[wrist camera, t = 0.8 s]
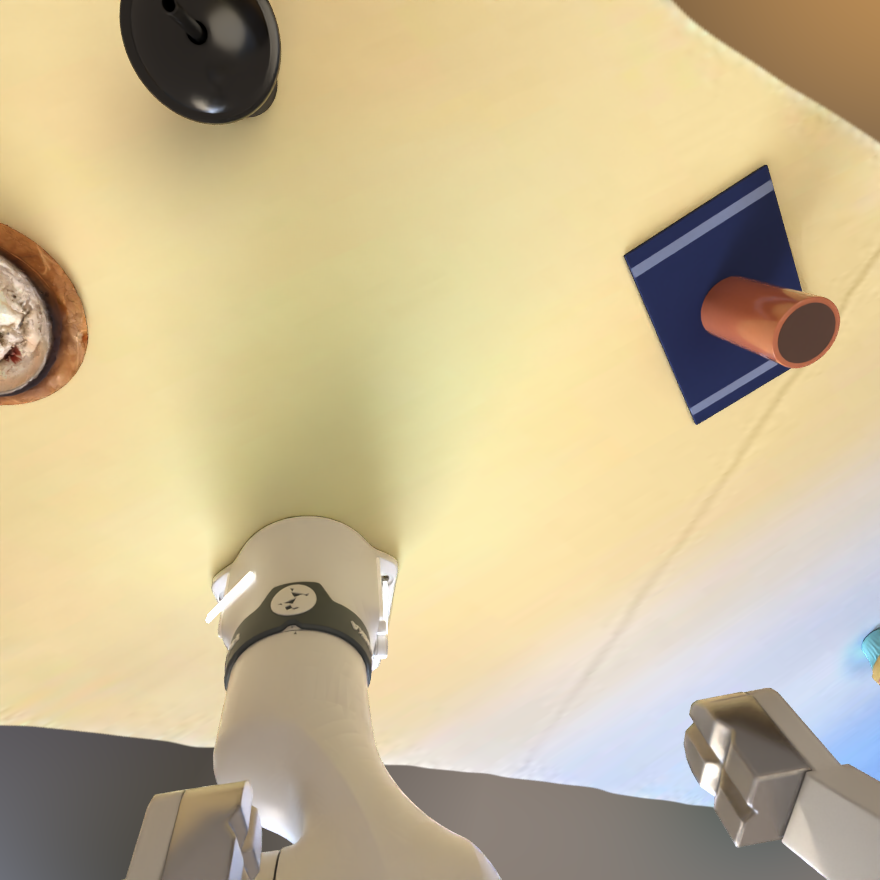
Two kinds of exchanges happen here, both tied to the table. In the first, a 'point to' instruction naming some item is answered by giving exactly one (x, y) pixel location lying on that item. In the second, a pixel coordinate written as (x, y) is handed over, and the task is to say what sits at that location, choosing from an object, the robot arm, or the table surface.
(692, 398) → the cloth
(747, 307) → the tumbler
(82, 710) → the table surface
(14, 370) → the round cake
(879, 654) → the cupcake
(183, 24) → the drinking cup
